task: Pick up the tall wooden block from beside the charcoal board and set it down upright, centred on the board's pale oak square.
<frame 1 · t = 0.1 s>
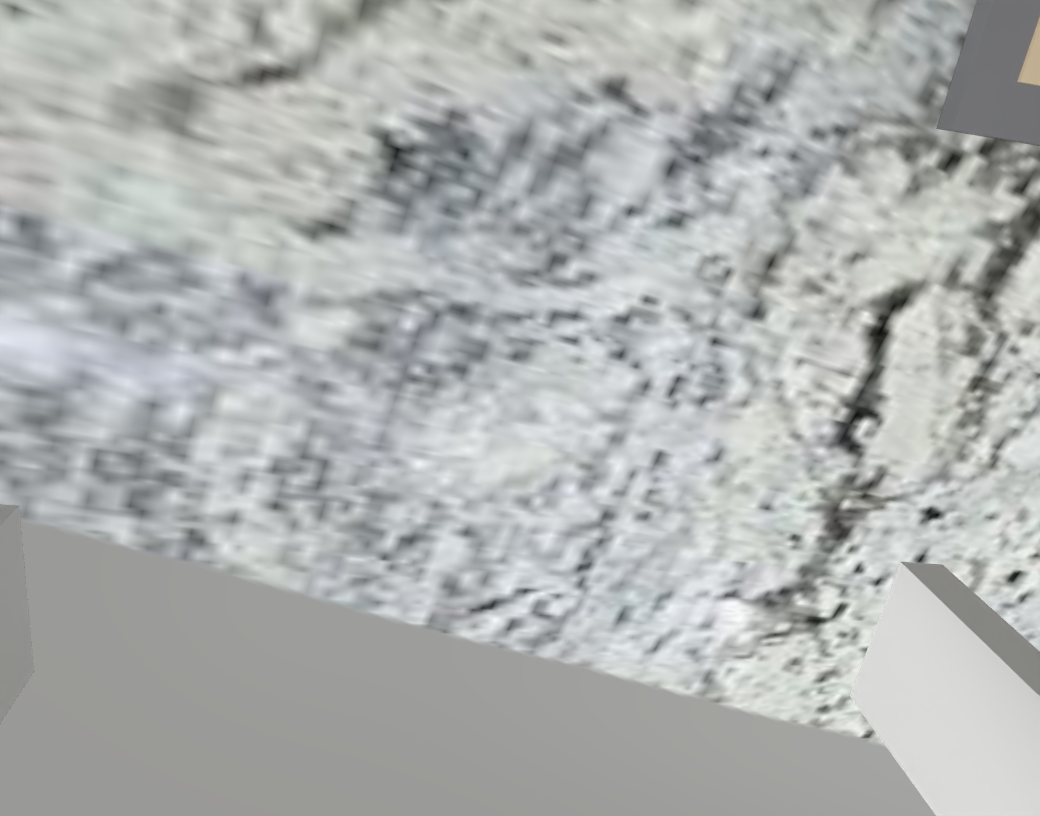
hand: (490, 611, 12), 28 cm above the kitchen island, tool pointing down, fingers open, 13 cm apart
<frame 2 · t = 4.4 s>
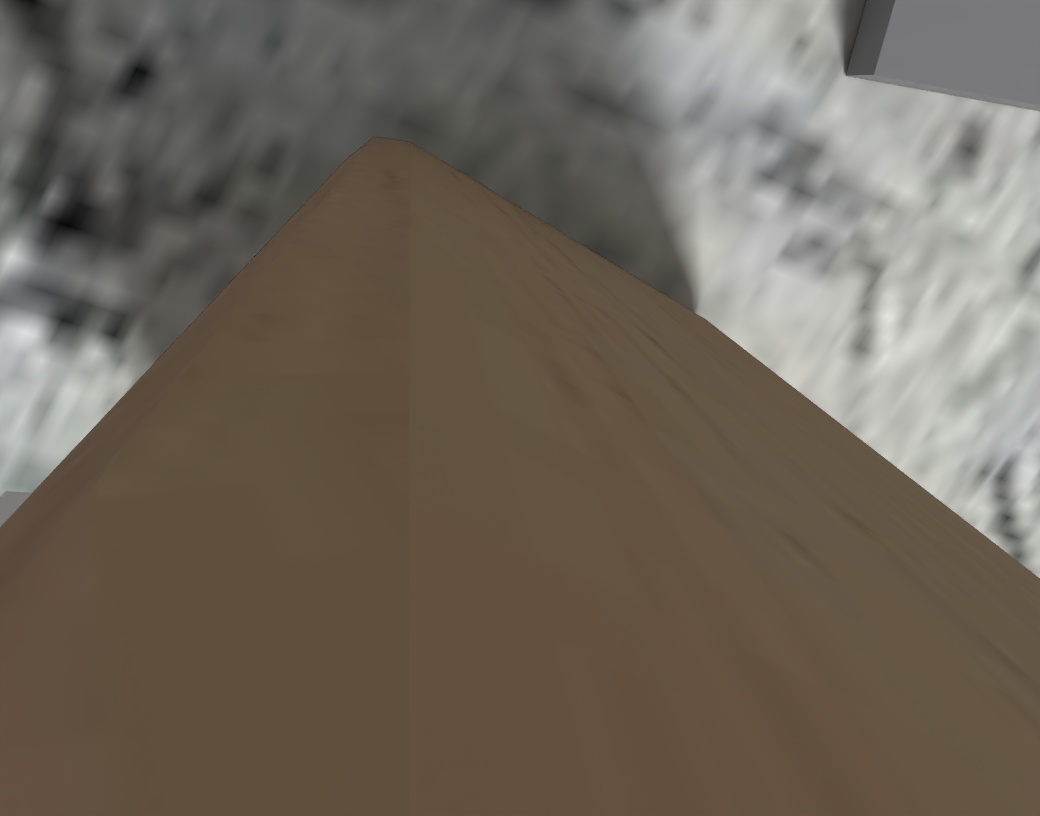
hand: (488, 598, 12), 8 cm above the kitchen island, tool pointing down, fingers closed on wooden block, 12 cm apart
wooden block: (457, 398, 20), on the kitchen island, touching gripper
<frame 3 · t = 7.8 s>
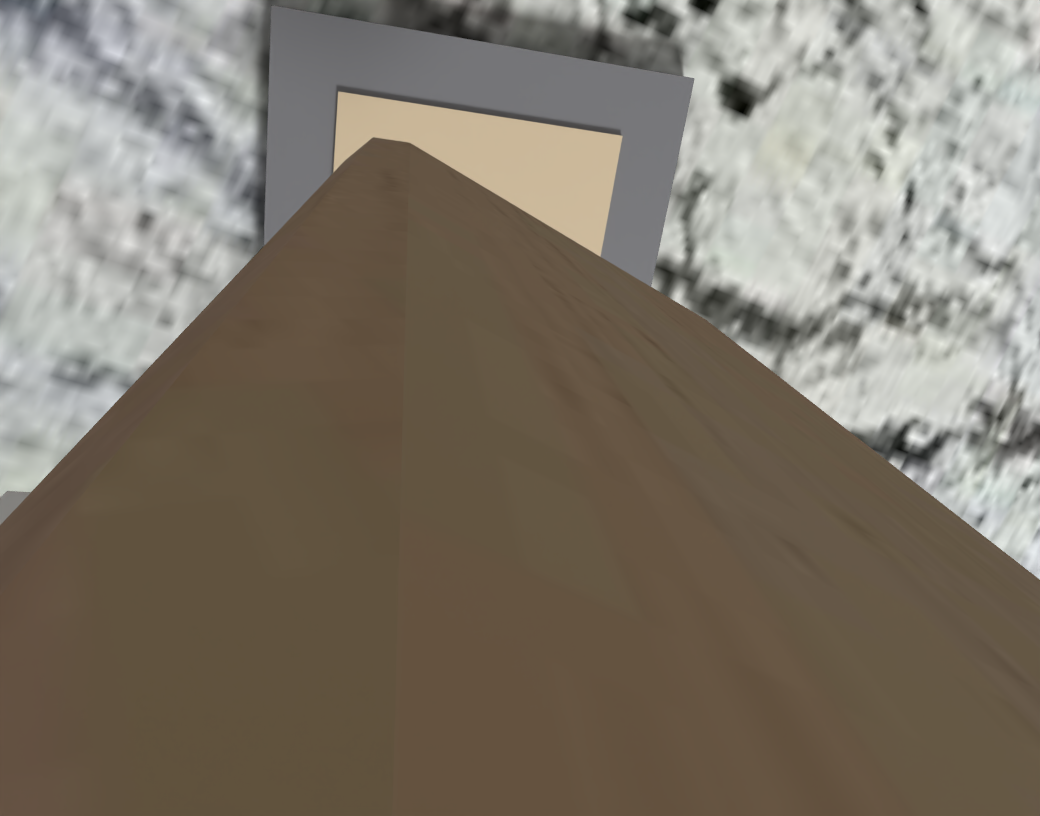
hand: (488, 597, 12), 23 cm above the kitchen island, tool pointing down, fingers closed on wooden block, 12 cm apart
wooden block: (456, 399, 20), point 14 cm above the kitchen island, touching gripper
board: (465, 250, 33), on the kitchen island
when the fingers open (11 cm above the kitchen island, at t = 11.3 s): wooden block drops 1 cm, resting on board.
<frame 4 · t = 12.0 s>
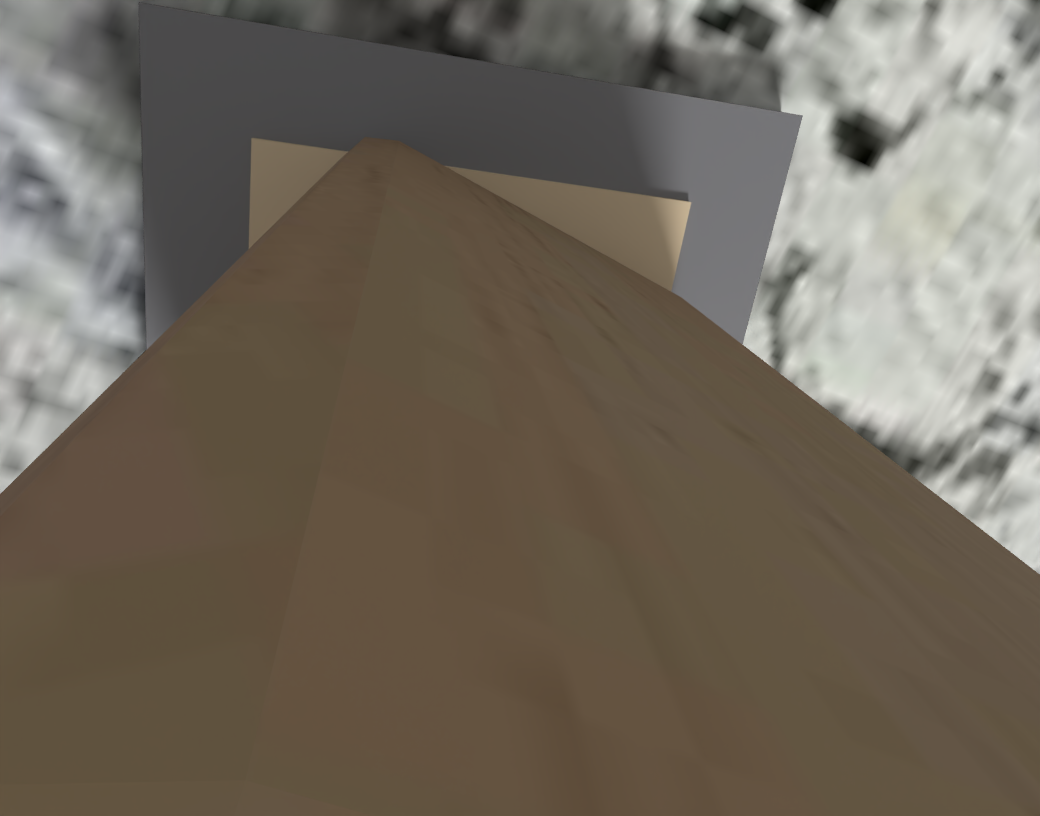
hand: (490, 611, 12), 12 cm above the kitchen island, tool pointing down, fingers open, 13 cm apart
wooden block: (452, 379, 21), point 1 cm above the kitchen island, touching board
board: (453, 362, 23), on the kitchen island
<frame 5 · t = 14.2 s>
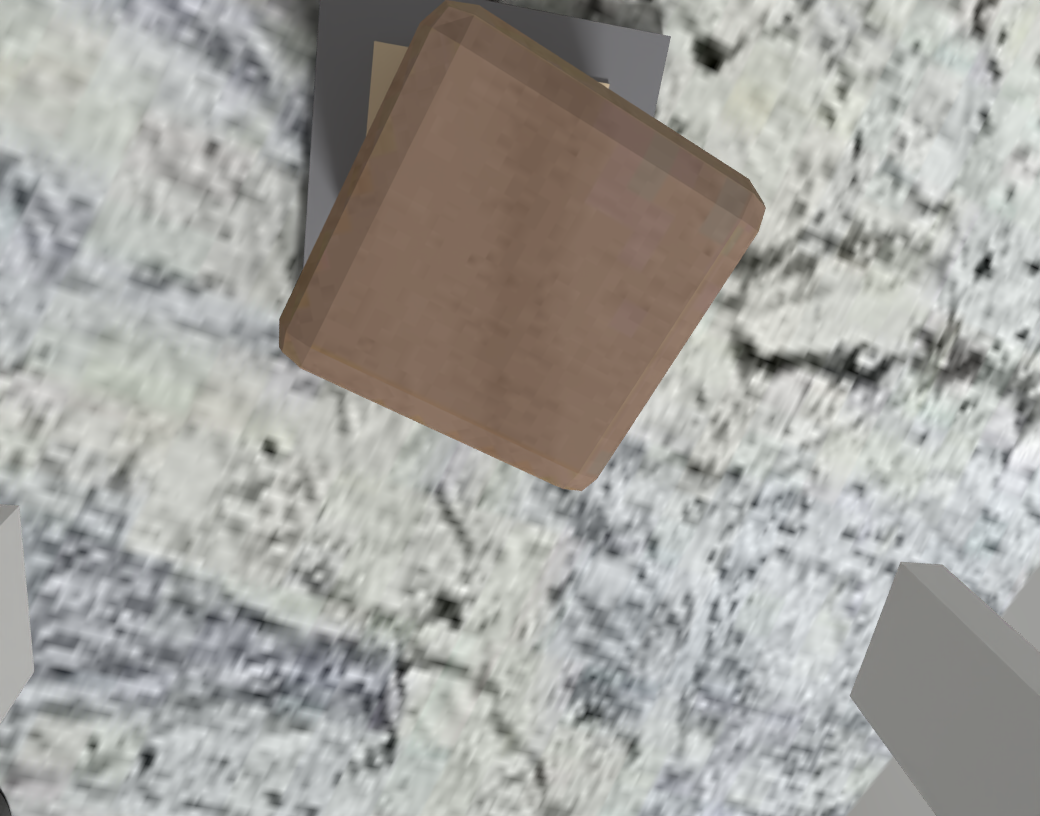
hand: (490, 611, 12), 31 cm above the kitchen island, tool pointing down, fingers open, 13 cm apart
wooden block: (476, 185, 38), point 1 cm above the kitchen island, touching board
board: (476, 181, 39), on the kitchen island
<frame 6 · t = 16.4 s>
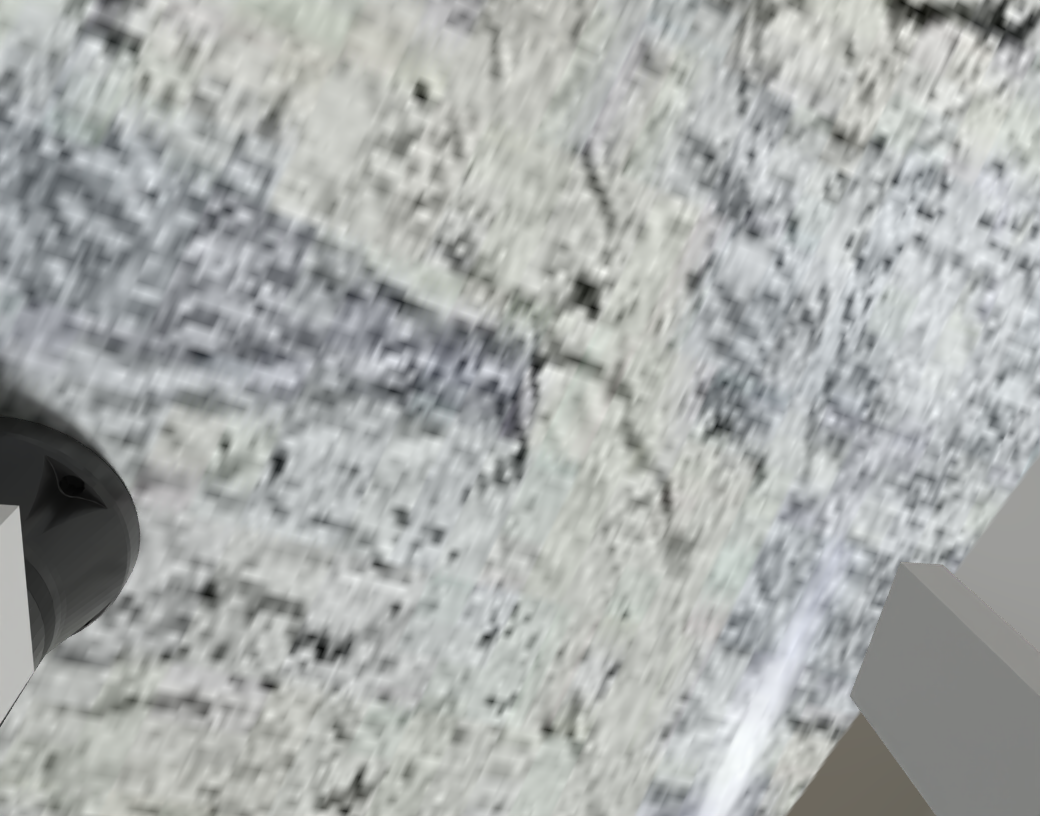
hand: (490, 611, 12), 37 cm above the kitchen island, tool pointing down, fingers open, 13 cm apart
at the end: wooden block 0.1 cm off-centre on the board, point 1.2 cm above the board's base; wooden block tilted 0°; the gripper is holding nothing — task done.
